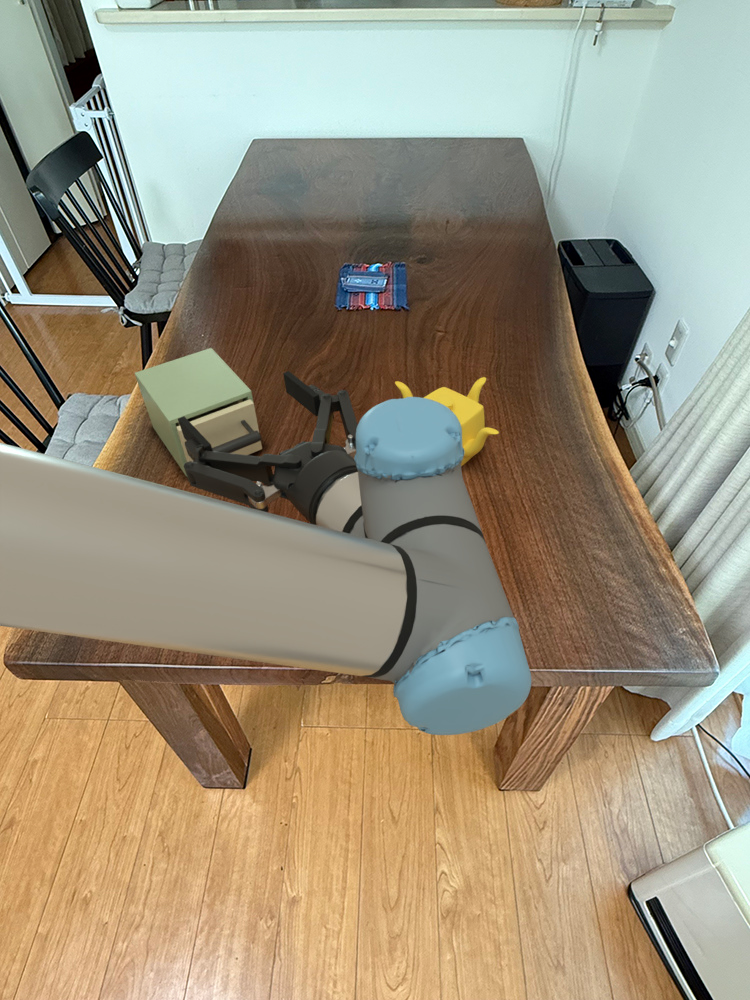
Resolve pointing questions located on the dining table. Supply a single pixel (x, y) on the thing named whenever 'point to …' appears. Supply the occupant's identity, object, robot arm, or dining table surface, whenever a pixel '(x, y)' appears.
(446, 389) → the teapot
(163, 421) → the cabinet
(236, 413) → the drawer
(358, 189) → the dining table surface
